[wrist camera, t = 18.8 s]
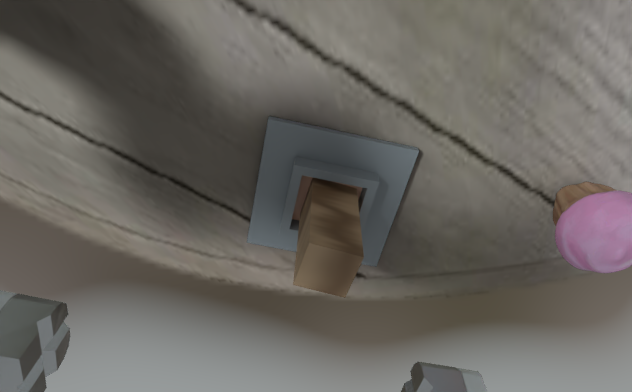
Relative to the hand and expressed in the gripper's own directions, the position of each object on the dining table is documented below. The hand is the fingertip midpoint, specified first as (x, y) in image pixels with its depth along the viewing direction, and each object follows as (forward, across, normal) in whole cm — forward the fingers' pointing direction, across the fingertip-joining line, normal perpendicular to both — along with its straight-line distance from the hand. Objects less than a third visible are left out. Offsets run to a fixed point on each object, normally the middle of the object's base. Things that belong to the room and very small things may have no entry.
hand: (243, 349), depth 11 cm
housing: (+37, -6, +17) cm, 41 cm away
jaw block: (+36, -6, +17) cm, 41 cm away
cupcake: (+38, -33, +11) cm, 51 cm away
